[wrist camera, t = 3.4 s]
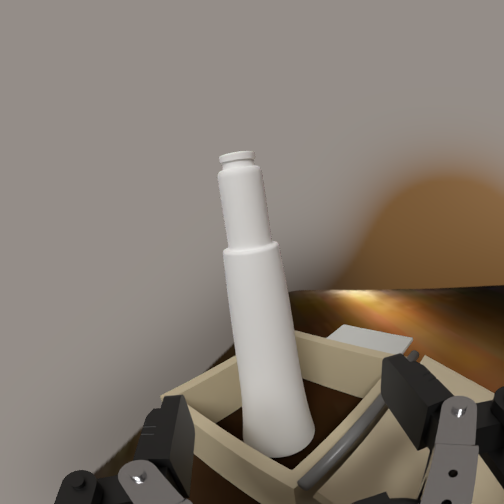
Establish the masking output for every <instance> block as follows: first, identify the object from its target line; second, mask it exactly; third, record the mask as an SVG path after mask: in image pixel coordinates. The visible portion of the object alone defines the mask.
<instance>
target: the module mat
mask: <svg viewBox="0 0 504 504" xmlns="http://www.w3.org/2000/svg"><path fill="white" fill-rule="evenodd" d="M327 339H331V340H335V341H339V342H343V343H347V344H351V345H355V346H360V347H364V348H368V349H373V350H377V351H382V352H386V353H391V354H399V353H401V354H403V353H404V352H405V351H406V349H407V348H408V347H409V345H410V344H411V342H412V341H413V338H411V337H405V336H400V335H394V334H389V333H384V332H379V331H373V330H368V329H363V328H358V327H353V326H348V325H342V326H341V327H340V328H339V329H337V330H336V331H335V332H334V333H332V334H331V335H330V336H329V337H327Z"/></svg>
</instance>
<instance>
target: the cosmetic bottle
mask: <svg viewBox="0 0 504 504" xmlns="http://www.w3.org/2000/svg"><path fill="white" fill-rule="evenodd" d="M254 159H255V152H254V151H241V152H234V153H229V154H225V155H222V156H220V157H219V160H220V164H222V168H223V170H222V171H220V172H219V173H218V184H219V191H220V197H221V203H222V210H223V216H224V222H225V228H226V234H227V240H228V247H227V248H226V249H225V250H224V251H223V258H224V267H225V276H226V286H227V293H228V301H229V309H230V316H231V323H232V330H233V337H234V344H235V351H236V358H237V365H238V372H239V380H240V388H241V397H242V409H243V440H244V443H245V444H247V445H249V446H250V447H252V448H254V449H255V450H257V451H259V452H260V453H262V454H264V455H265V456H267V457H270V458H279V457H286V456H290V455H293V454H295V453H297V452H299V451H301V450H303V449H304V448H305V447H306V446H307V445H308V444H309V443H310V442H311V441H312V439H313V437H314V433H315V427H314V423H313V420H312V417H311V414H310V410H309V407H308V403H307V399H306V395H305V390H304V385H303V380H302V375H301V369H300V364H299V357H298V351H297V345H296V339H295V332H294V326H293V320H292V314H291V308H290V301H289V296H288V290H287V284H286V279H285V273H284V268H283V263H282V258H281V252H280V248H279V244H278V242H276V241H272V238H271V231H270V224H269V217H268V210H267V203H266V196H265V189H264V182H263V175H262V170H261V168H260V167H259V166H255V165H254Z"/></svg>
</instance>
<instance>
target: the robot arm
mask: <svg viewBox="0 0 504 504" xmlns="http://www.w3.org/2000/svg"><path fill="white" fill-rule="evenodd" d="M381 395H382V398H383V400H384V402H385V403H386V405H387V406H388V408H389V409H390V411H391V412H392V414H393V415H394V417H395V418H396V420H397V421H398V423H399V424H400V426H401V427H402V428H403V430H404V431H405V433H406V434H407V436H408V437H409V439H410V440H411V442H412V443H413V445H414V446H415V448H416V449H417V451H419V450H421V449H424V448H426V447H428V449H429V450H430V452H429V455H428V459H427V463H426V467H425V470H424V474H423V478H422V481H421V484H420V488H419V491H418V494H417V497H416V499H412V498H389V496H388V494H387V492H383V493H380V494H377V495H374V496H371V497H368V498H365V499H362V500H358V501H356V502H354V503H352V504H472V499H473V493H474V487H475V480H476V472H477V463H478V454H479V455H480V457H481V458H482V459H483V461H484V462H485V464H486V465H487V466H488V468H489V469H490V471H491V472H492V473H493V475H494V476H495V478H496V479H497V481H498V482H499V483H500V485H501V486H502V488H503V489H504V387H501V388H499V389H498V390H497V391H496V392H495V394H494V398H493V400H489V401H485V402H480V403H475V402H474V401H473V400H472V399H471V398H469V397H465V396H454V395H453V394H452V393H451V392H450V391H449V390H448V389H447V388H446V387H445V386H444V385H443V384H442V383H441V382H440V381H439V380H438V379H436V377H435V376H434V375H433V374H432V373H431V372H430V371H429V370H428V369H427V368H426V367H425V366H424V365H422V364H420V363H418V362H416V361H412V362H410V361H409V360H408V359H407V358H406V357H405V356H404V355H403V354H401V353H399V354H395V355H392V356H388V357H385V358H383V360H382V374H381ZM194 443H195V428H194V423H193V420H192V417H191V414H190V411H189V408H188V405H187V402H186V399H185V397H184V395H171V396H164V398H163V402H162V405H161V408H160V409H159V408H158V409H153V410H152V411H151V412H150V413H149V414H148V416H147V417H146V419H145V422H144V428H143V429H142V432H141V435H140V439H139V442H138V445H137V449H136V452H135V456H134V459H133V461H132V462H129V463H127V464H126V465H124V466H123V467H122V468H121V469H120V471H119V474H118V475H115V476H111V477H105V478H100V479H96V477H95V476H94V475H93V474H92V473H91V472H88V471H84V470H79V471H74V472H72V473H70V474H69V475H67V476H66V477H65V478H64V480H63V481H62V484H61V487H60V489H59V492H58V495H57V497H56V501H55V503H54V504H192V503H191V502H190V501H189V500H188V499H187V498H189V496H190V485H191V474H192V463H193V453H194ZM184 498H185V499H184Z"/></svg>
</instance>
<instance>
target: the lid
mask: <svg viewBox="0 0 504 504" xmlns="http://www.w3.org/2000/svg"><path fill="white" fill-rule="evenodd" d="M420 364H422V365H424V366H425V367H426V368H427V369H428V370H429V371H430V372H431V373H432V374H433V375H434V376H435V377H436V379H438V380H439V381H440V382H441V383H442V384H443V385H444V386H445V387H446V388H447V389H448V390H449V391H450V392H451V393H452V394H453V395H454V396H465V397H469V398H471V399H472V400H473V401H474V402H475V403H480V402H485V401H489V400H493V398H494V394H495V393H493V392H491V391H489V390H487V389H485V388H484V387H482V386H480V385H478V384H476V383H475V382H473V381H471V380H469V379H467V378H465V377H464V376H462V375H460V374H458V373H456V372H455V371H453V370H451V369H449V368H447V367H446V366H444V365H442V364H440V363H438V362H436V361H435V360H433V359H431V358H429V357H427V356H426V355H425V356H424V357H423V359H422V360H421V362H420ZM429 452H430V450H429V449H428V447H426V448H424V449H421V450H419V451H417V449H416V448H415V446H414V445H413V443H412V442H411V440H410V439H409V437H408V436H407V434H406V433H405V431H404V430H403V428H402V427H401V426H400V424H399V423H398V421H397V420H396V418H395V417H394V415H393V414H392V412H391V411H390V409H388V410H387V411H386V413H385V414H384V415H383V417H382V418H381V419H380V421H379V422H378V423H377V425H376V426H375V427H374V428H373V430H372V431H371V432H370V433H369V435H368V436H367V437H366V438H365V439H364V441H363V442H362V443H361V444H360V445H359V447H358V448H357V449H356V450H355V451H354V452H353V454H352V455H351V456H350V457H349V458H348V459H347V460H346V462H345V463H344V464H343V465H342V466H341V467H340V468H339V469H338V470H337V471H336V472H335V474H334V475H333V476H332V477H331V478H330V479H329V480H328V481H327V482H326V483H325V484H324V485H323V486H322V487H321V488H320V489H319V490H318V491H317V492H316V493H315V495H314V496H313V498H315V499H316V500H317V501H319V502H320V503H322V504H352V503H354V502H356V501H358V500H362V499H365V498H368V497H371V496H374V495H377V494H380V493H383V492H387V494H388V496H389V498H412V499H416V497H417V494H418V491H419V488H420V484H421V481H422V478H423V474H424V470H425V467H426V463H427V459H428V455H429ZM472 504H504V489H503V488H502V486H501V485H500V483H499V482H498V481H497V479H496V478H495V476H494V475H493V473H492V472H491V471H490V469H489V468H488V466H487V465H486V464H485V462H484V461H483V459H482V458H481V457H480V455H479V454H478V463H477V472H476V480H475V487H474V493H473V499H472Z"/></svg>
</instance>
